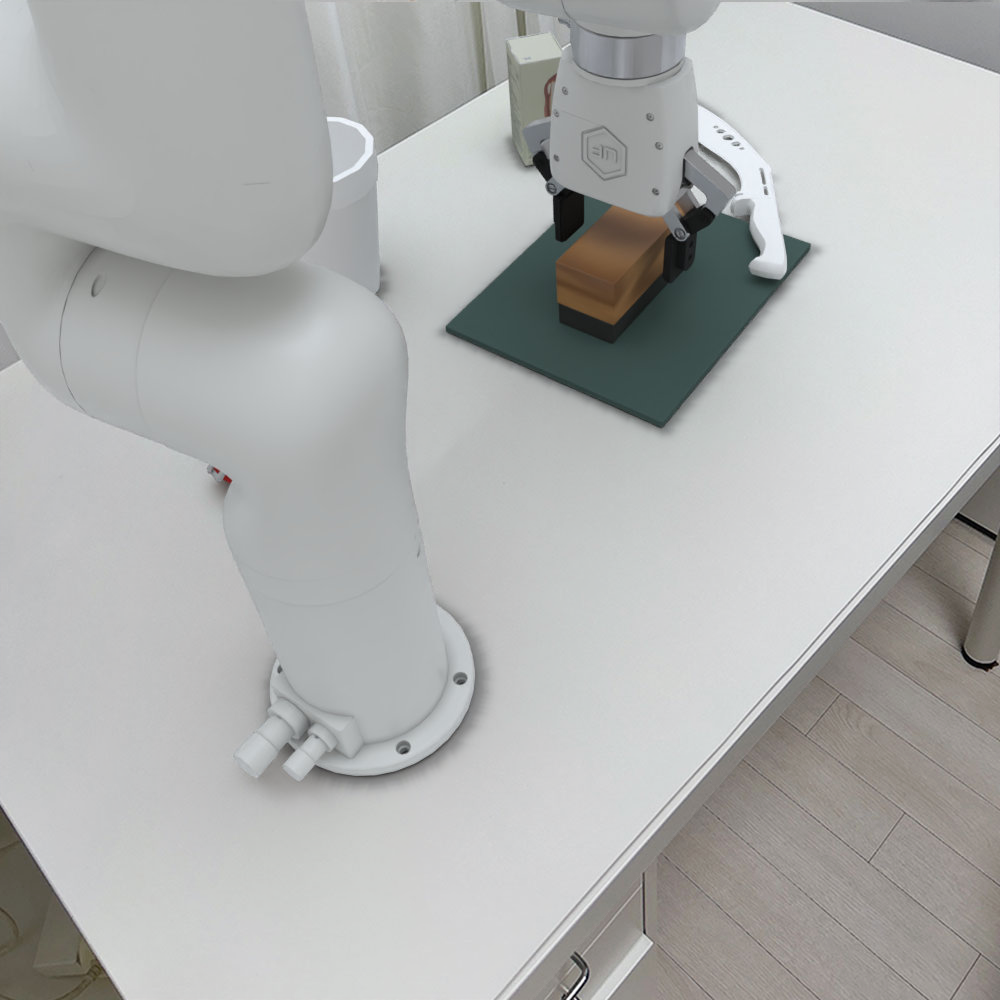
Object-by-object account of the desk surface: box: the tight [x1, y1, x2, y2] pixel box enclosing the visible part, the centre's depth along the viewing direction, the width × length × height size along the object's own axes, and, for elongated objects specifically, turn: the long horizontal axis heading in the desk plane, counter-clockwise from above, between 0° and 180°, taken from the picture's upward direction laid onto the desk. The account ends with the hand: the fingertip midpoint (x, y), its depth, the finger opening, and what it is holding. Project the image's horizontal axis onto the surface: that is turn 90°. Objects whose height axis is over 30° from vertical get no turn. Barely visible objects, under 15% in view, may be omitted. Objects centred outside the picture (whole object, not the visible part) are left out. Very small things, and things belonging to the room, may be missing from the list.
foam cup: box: [300, 116, 381, 295], centre depth 88 cm, size 10×9×13 cm
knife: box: [698, 104, 787, 280], centre depth 98 cm, size 30×2×8 cm
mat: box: [445, 195, 812, 429], centre depth 90 cm, size 24×20×1 cm
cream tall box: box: [505, 30, 564, 167], centre depth 100 cm, size 5×4×10 cm
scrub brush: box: [556, 202, 685, 344], centre depth 87 cm, size 12×5×6 cm, turn 144°
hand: (622, 252), depth 85 cm, fingers open, 9 cm apart
